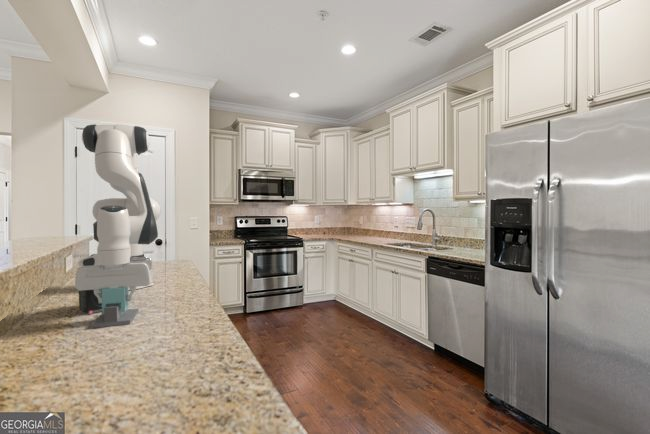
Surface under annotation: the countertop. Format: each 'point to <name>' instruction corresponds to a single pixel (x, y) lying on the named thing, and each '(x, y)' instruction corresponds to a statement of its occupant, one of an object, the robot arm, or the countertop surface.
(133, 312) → the rail panel
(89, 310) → the tampon box
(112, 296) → the block
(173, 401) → the countertop surface
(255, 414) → the countertop surface
